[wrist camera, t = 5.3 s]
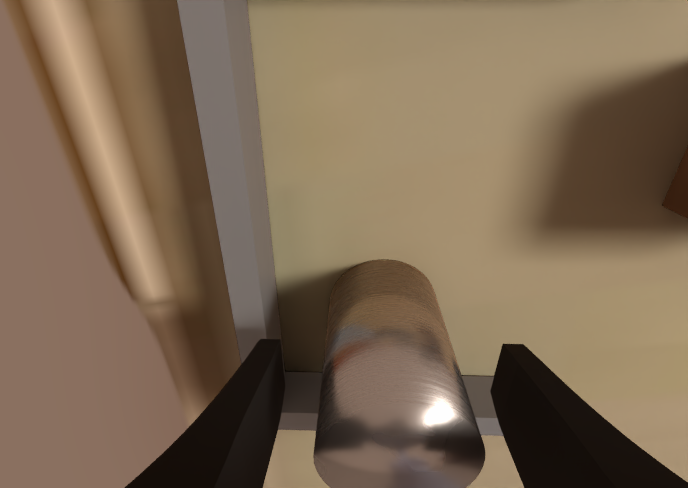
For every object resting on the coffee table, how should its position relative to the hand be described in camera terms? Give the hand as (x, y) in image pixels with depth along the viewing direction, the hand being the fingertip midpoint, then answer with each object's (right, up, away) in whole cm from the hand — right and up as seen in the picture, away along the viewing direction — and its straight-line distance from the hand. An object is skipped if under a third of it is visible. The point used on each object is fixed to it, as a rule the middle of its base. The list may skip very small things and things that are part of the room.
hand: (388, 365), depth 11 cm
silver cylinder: (0, +1, +3) cm, 3 cm away
